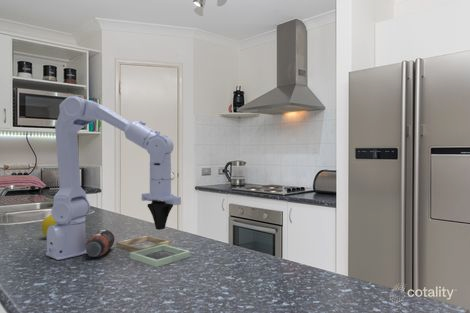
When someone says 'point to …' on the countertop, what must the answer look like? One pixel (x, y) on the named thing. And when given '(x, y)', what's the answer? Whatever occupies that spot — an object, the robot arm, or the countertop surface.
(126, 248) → the socket collar
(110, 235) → the supplement bottle
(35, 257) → the countertop surface
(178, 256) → the square frame
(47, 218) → the lemon
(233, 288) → the countertop surface
